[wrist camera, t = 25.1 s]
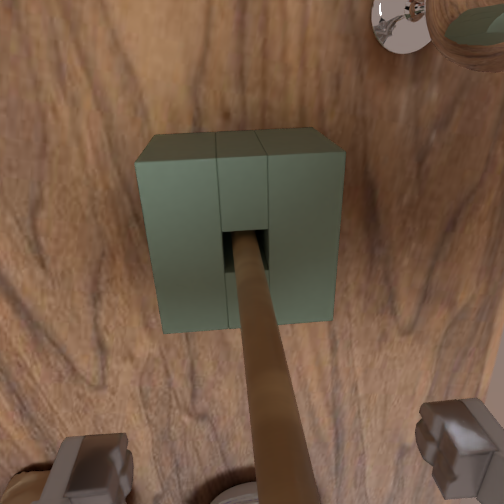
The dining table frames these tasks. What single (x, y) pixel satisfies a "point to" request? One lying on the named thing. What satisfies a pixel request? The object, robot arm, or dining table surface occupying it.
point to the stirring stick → (269, 387)
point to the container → (25, 487)
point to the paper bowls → (239, 495)
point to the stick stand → (241, 222)
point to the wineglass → (444, 29)
